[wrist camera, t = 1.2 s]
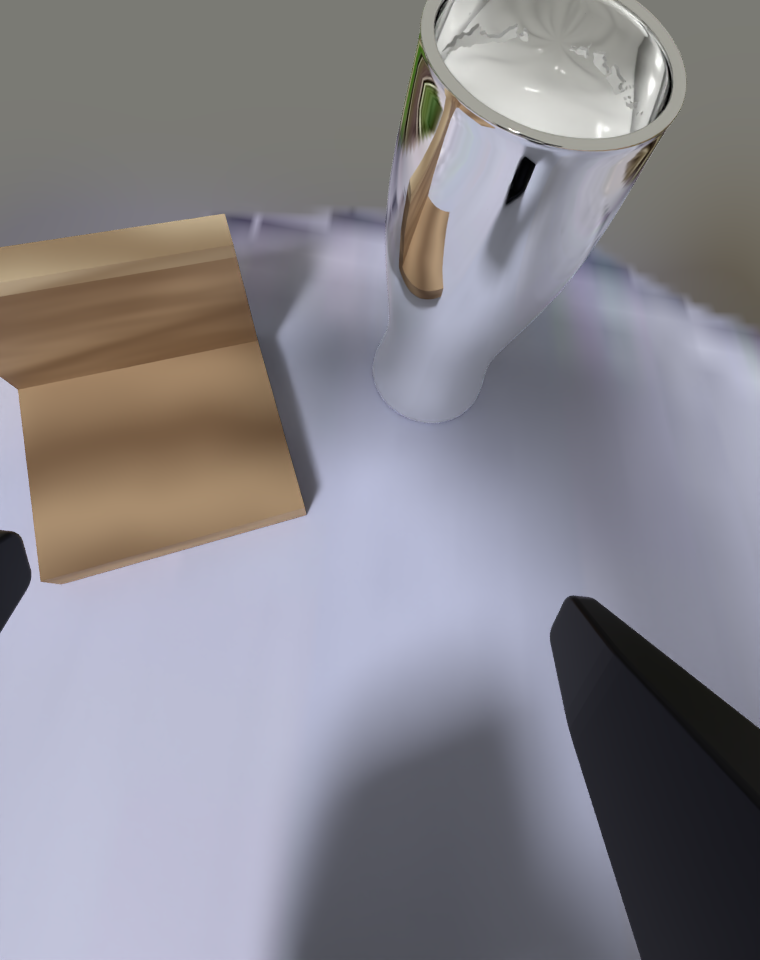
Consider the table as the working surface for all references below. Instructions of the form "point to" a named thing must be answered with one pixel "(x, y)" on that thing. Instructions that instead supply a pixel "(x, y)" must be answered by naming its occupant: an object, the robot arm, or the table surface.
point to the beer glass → (509, 176)
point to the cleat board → (140, 396)
